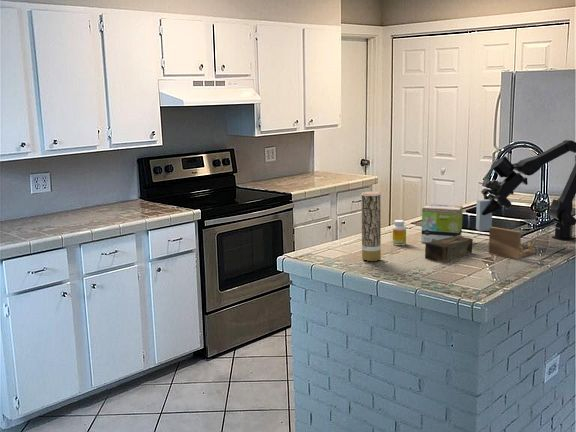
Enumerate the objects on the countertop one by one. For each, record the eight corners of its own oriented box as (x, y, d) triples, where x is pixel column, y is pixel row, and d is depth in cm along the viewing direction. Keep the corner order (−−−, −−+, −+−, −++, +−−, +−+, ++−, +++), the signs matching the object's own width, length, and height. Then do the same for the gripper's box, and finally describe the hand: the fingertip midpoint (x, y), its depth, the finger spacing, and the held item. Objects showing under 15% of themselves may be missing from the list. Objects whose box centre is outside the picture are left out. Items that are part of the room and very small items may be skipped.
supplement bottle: (405, 246, 245) (406, 222, 243) (392, 245, 246) (392, 222, 244) (406, 242, 250) (406, 219, 248) (392, 242, 251) (392, 219, 249)
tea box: (421, 243, 249) (421, 207, 246) (425, 237, 258) (425, 203, 255) (459, 245, 243) (459, 208, 240) (462, 239, 252) (462, 204, 249)
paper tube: (369, 263, 222) (368, 195, 217) (358, 259, 228) (357, 192, 223) (384, 260, 225) (384, 193, 220) (373, 256, 231) (373, 191, 226)
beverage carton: (473, 253, 231) (474, 236, 229) (441, 263, 219) (441, 245, 218) (456, 250, 237) (456, 233, 236) (423, 259, 225) (423, 242, 224)
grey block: (488, 228, 248) (488, 199, 246) (491, 230, 245) (492, 200, 242) (475, 228, 248) (476, 199, 246) (479, 230, 245) (480, 201, 242)
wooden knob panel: (508, 247, 237) (509, 222, 235) (537, 253, 228) (538, 226, 226) (488, 253, 230) (489, 227, 228) (517, 259, 220) (518, 232, 218)
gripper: (486, 168, 251) (459, 196, 253) (504, 174, 233) (475, 204, 235) (504, 187, 253) (477, 214, 255) (523, 194, 235) (494, 223, 237)
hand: (480, 213), depth 245 cm, fingers closed on grey block, 4 cm apart
